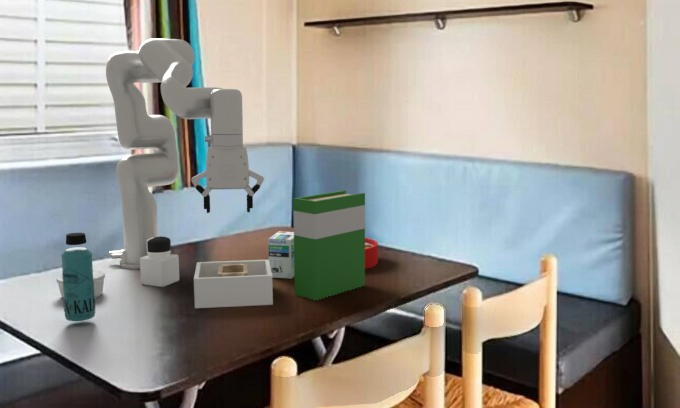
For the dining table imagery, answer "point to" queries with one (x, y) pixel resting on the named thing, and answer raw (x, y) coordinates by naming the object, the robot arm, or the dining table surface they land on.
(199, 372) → the dining table surface
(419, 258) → the dining table surface
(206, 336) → the dining table surface
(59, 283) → the ramekin
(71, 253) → the beverage bottle
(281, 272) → the light bulb box
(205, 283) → the grey plastic crate
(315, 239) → the hardback book
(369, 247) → the toy clock
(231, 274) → the small wooden crate
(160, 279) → the medicine bottle
